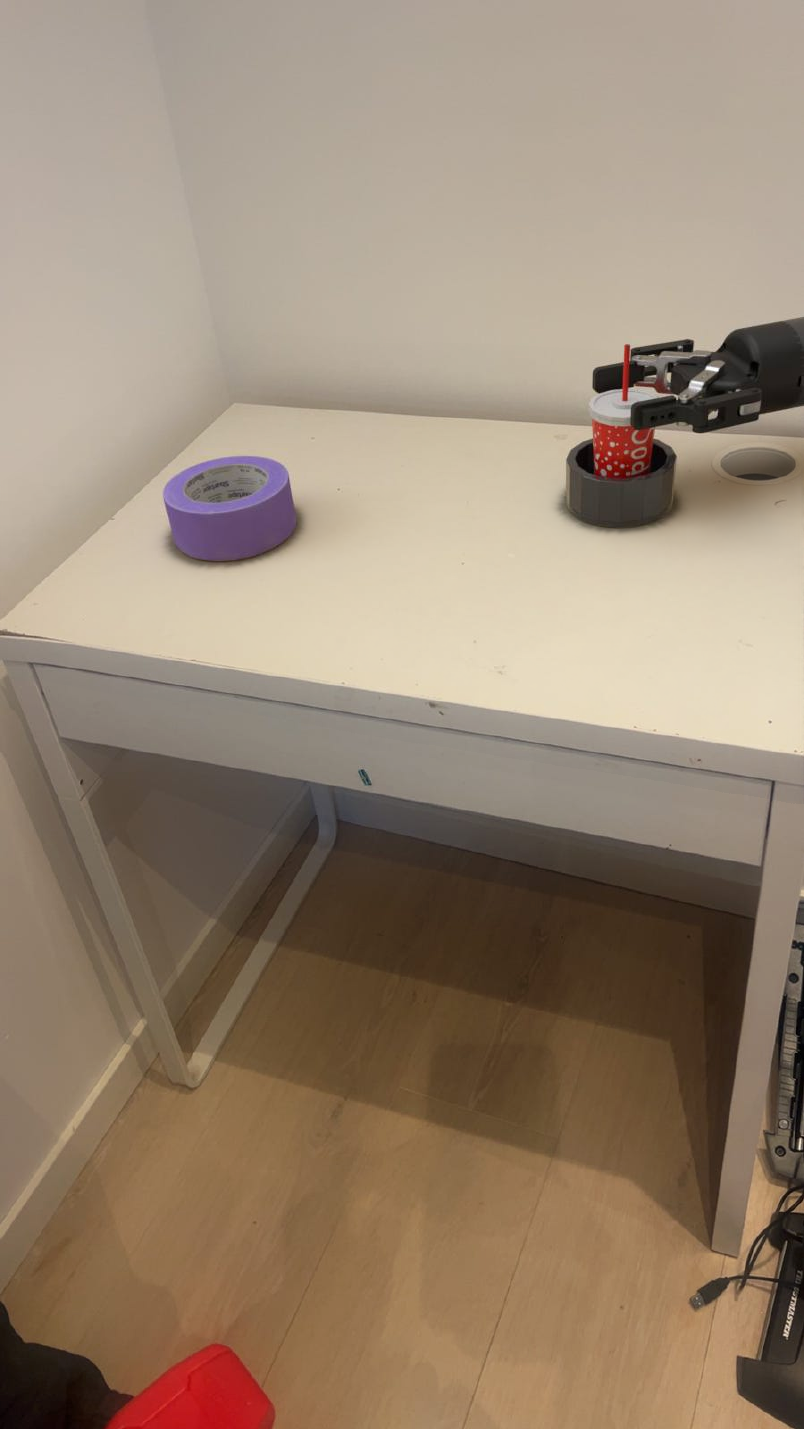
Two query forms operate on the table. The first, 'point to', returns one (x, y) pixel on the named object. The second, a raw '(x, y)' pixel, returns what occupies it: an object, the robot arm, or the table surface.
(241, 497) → the tape roll
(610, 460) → the beverage cup
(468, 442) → the table surface
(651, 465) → the socket
